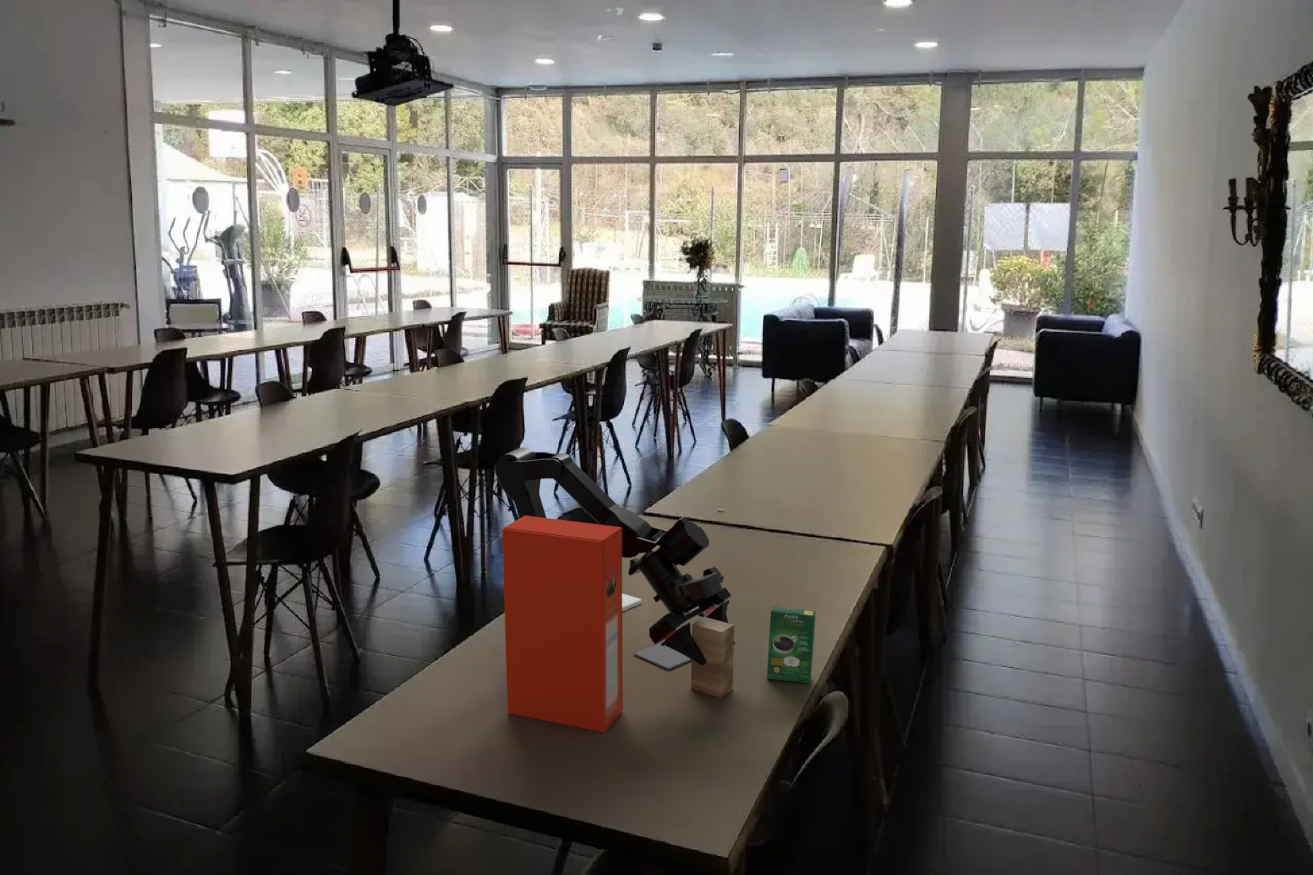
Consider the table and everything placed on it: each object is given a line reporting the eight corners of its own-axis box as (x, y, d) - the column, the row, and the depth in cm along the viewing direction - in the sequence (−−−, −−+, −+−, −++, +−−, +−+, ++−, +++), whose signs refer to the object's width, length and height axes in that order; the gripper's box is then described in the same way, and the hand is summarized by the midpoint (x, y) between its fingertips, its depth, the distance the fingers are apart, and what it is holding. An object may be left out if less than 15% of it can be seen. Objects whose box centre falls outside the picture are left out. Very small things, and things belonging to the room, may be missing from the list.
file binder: (602, 734, 162) (601, 541, 155) (506, 714, 168) (502, 528, 161) (622, 711, 169) (622, 526, 162) (530, 694, 175) (526, 514, 168)
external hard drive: (573, 613, 213) (613, 597, 222) (602, 623, 208) (641, 605, 217) (573, 606, 212) (613, 589, 222) (602, 615, 207) (641, 598, 217)
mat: (668, 670, 185) (668, 668, 185) (634, 655, 191) (634, 653, 191) (713, 651, 193) (713, 649, 193) (678, 637, 199) (678, 635, 199)
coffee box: (813, 678, 182) (816, 608, 179) (812, 685, 179) (815, 614, 177) (768, 673, 184) (770, 604, 181) (766, 680, 181) (768, 610, 178)
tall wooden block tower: (720, 698, 174) (722, 632, 172) (691, 688, 177) (692, 624, 175) (732, 689, 177) (734, 624, 175) (703, 680, 181) (704, 617, 178)
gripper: (663, 571, 167) (719, 650, 163) (722, 542, 182) (775, 614, 178) (625, 605, 173) (678, 682, 169) (685, 575, 188) (735, 645, 184)
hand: (719, 654), depth 175 cm, fingers open, 9 cm apart
